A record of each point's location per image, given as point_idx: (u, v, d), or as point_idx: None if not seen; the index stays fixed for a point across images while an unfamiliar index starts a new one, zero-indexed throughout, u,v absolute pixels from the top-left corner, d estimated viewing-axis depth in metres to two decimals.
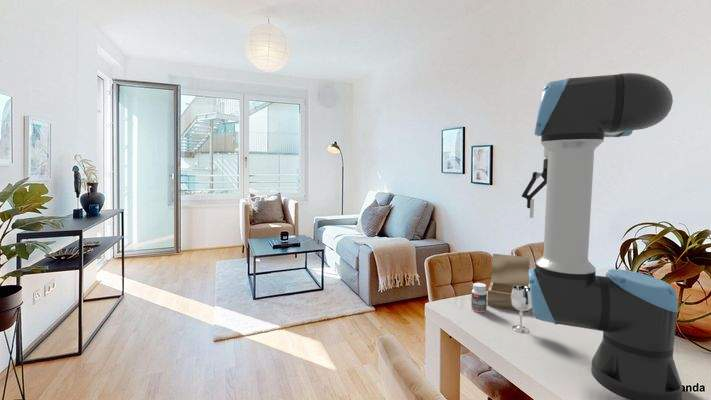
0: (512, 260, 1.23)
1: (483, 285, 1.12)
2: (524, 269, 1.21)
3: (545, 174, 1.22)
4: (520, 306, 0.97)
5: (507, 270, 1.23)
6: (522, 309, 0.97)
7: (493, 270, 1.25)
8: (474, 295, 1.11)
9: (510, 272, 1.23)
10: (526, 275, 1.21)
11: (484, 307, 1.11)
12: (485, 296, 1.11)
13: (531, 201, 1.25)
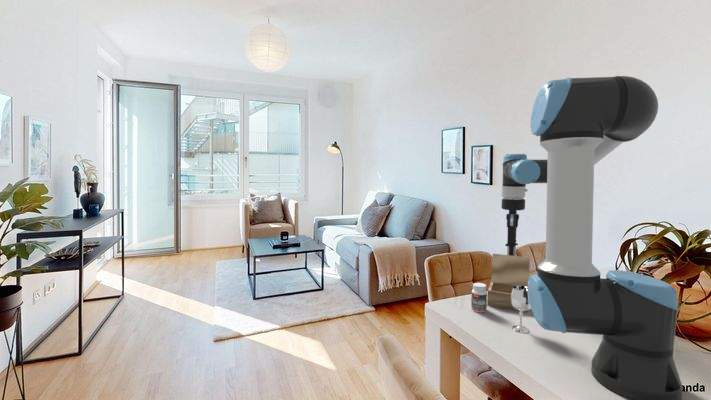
0: (512, 260, 1.23)
1: (483, 285, 1.12)
2: (524, 269, 1.21)
3: None
4: (520, 306, 0.97)
5: (507, 270, 1.23)
6: (522, 309, 0.97)
7: (493, 270, 1.25)
8: (474, 295, 1.11)
9: (510, 272, 1.23)
10: (526, 275, 1.20)
11: (484, 307, 1.11)
12: (485, 296, 1.11)
13: None
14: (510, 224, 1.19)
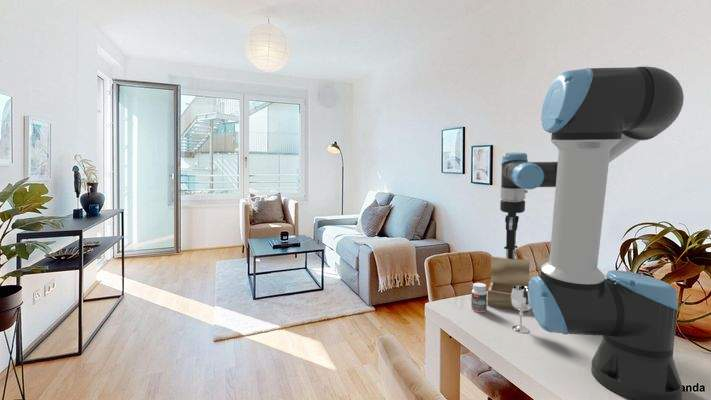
0: (511, 263, 1.19)
1: (483, 285, 1.12)
2: (524, 272, 1.18)
3: None
4: (520, 306, 0.97)
5: (506, 272, 1.21)
6: (522, 309, 0.97)
7: (492, 272, 1.23)
8: (474, 295, 1.11)
9: (510, 274, 1.21)
10: (526, 277, 1.19)
11: (484, 307, 1.11)
12: (485, 296, 1.11)
13: (506, 249, 1.21)
14: (509, 228, 1.13)
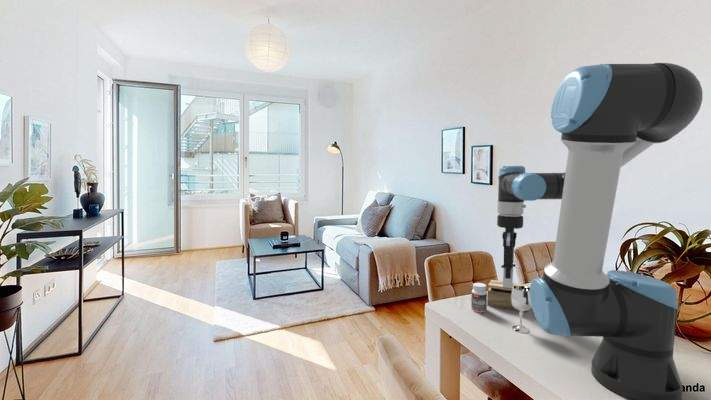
0: None
1: (483, 285, 1.12)
2: None
3: None
4: (520, 306, 0.97)
5: None
6: (522, 309, 0.97)
7: None
8: (474, 295, 1.11)
9: None
10: None
11: (484, 307, 1.11)
12: (485, 296, 1.11)
13: None
14: (506, 244, 1.07)
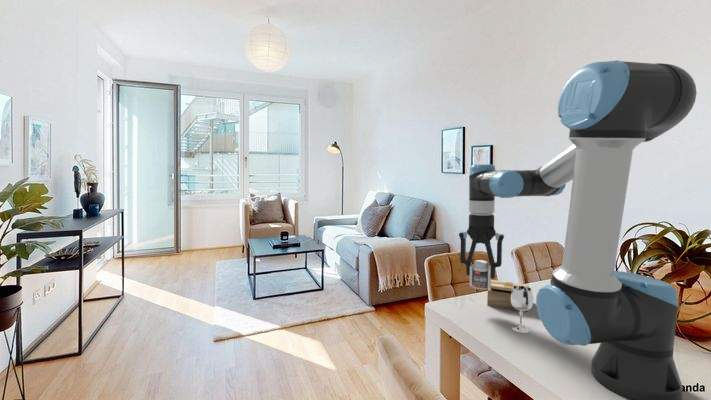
0: None
1: (484, 262, 1.11)
2: None
3: (471, 231, 1.11)
4: (520, 306, 0.97)
5: None
6: (522, 309, 0.97)
7: None
8: (475, 272, 1.10)
9: None
10: None
11: (486, 284, 1.10)
12: (486, 273, 1.10)
13: (470, 268, 1.11)
14: None
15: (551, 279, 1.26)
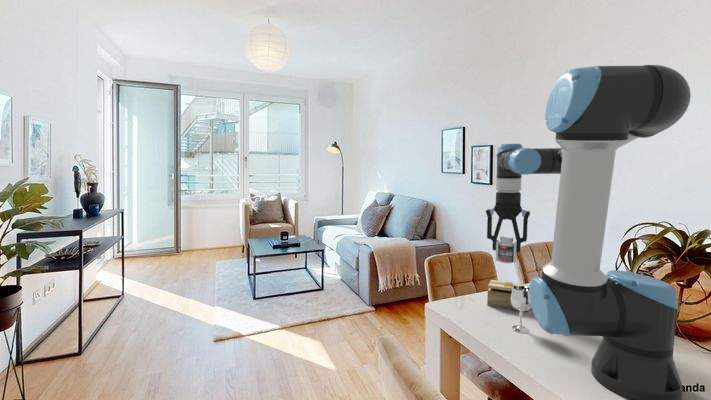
0: None
1: (510, 237, 1.16)
2: None
3: (497, 208, 1.16)
4: (520, 306, 0.97)
5: None
6: (522, 309, 0.97)
7: None
8: (502, 247, 1.16)
9: None
10: None
11: (511, 258, 1.15)
12: (512, 247, 1.15)
13: (497, 243, 1.17)
14: None
15: None
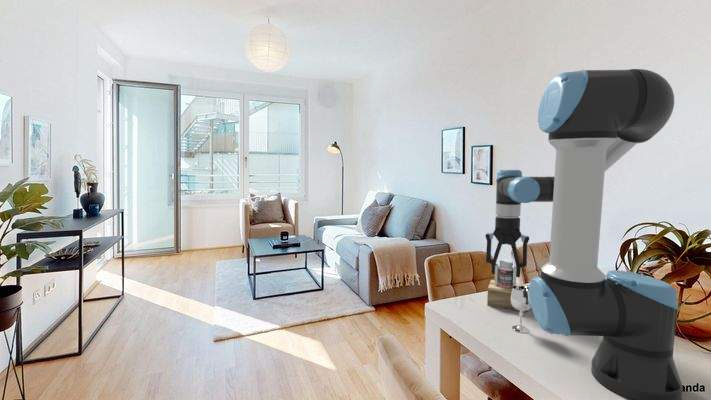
0: None
1: (509, 261, 1.17)
2: None
3: (497, 232, 1.17)
4: (520, 306, 0.97)
5: None
6: (522, 309, 0.97)
7: None
8: (501, 271, 1.17)
9: None
10: None
11: (511, 282, 1.16)
12: (512, 272, 1.16)
13: (496, 267, 1.18)
14: (528, 240, 1.14)
15: None
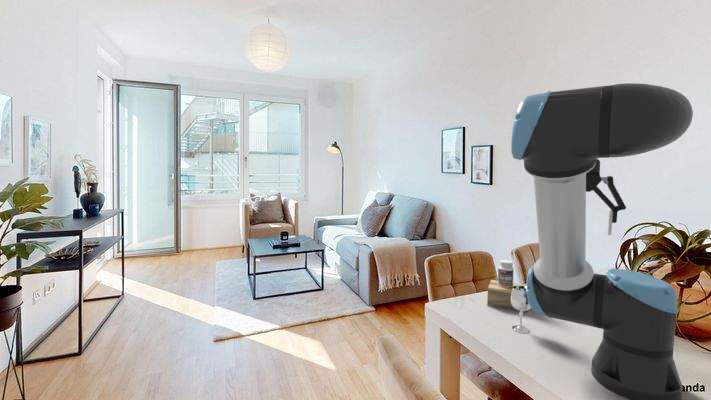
0: None
1: (509, 261, 1.17)
2: None
3: None
4: (519, 306, 0.97)
5: None
6: (522, 309, 0.97)
7: None
8: (501, 271, 1.17)
9: None
10: None
11: (511, 282, 1.16)
12: (512, 272, 1.16)
13: None
14: (612, 180, 0.98)
15: None
